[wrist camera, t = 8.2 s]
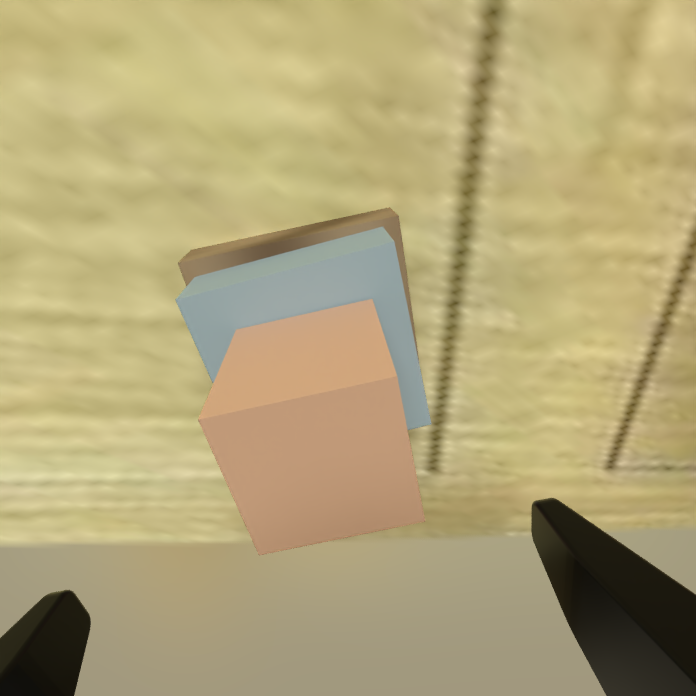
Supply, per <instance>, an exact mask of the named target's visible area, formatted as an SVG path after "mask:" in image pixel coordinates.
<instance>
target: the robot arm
mask: <svg viewBox="0 0 696 696" xmlns="http://www.w3.org/2000/svg"><path fill="white" fill-rule="evenodd" d="M532 537H533V541H534V543H535V546H536V548H537V551H538V553H539V556H540V558H541V560H542V563H543V565H544V567H545V570H546V572H547V575H548V577H549V579H550V582H551V584H552V587H553V589H554V591H555V593H556V596H557V598H558V600H559V603H560V606H561V608H562V610H563V612H564V615H565V617H566V620H567V622H568V624H569V626H570V628H571V630H572V632H573V634H574V636H575V638H576V640H577V642H578V644H579V646H580V647H581V649H582V651H583V653H584V655H585V657H586V659H587V660H588V662H589V664H590V666H591V668H592V670H593V671H594V673H595V675H596V677H597V679H598V681H599V683H600V684H601V686H602V688H603V690H604V692H605V693H606V695H607V696H696V594H694V593H693V592H691V591H690V590H688V589H687V588H685V587H684V586H683V585H681V584H679V583H678V582H677V581H675V580H674V579H672V578H671V577H669V576H668V575H667V574H665V573H664V572H662V571H661V570H659V569H658V568H656V567H655V566H653V565H652V564H650V563H649V562H648V561H646V560H645V559H643V558H642V557H640V556H639V555H637V554H636V553H634V552H633V551H632V550H630V549H628V548H627V547H626V546H624V545H623V544H621V543H620V542H618V541H617V540H616V539H614V538H613V537H611V536H610V535H608V534H607V533H605V532H604V531H602V530H601V529H600V528H598V527H597V526H595V525H594V524H592V523H591V522H589V521H588V520H586V519H585V518H584V517H582V516H581V515H579V514H578V513H576V512H575V511H573V510H572V509H570V508H569V507H568V506H566V505H565V504H563V503H562V502H560V501H559V500H557V499H554V498H548V499H543V500H537V501H534V502H533V504H532ZM90 625H91V621H90V616H89V613H88V612H87V610H86V609H85V607H84V606H83V605H82V603H81V602H80V600H79V599H78V598H77V596H76V595H75V593H73V591H70V590H64V591H58V592H53V593H50V594H48V595H46V596H44V597H43V598H42V599H41V600H40V601H39V602H38V603H37V604H36V605H35V606H33V607H32V608H31V609H30V610H29V611H28V612H27V613H26V614H25V615H24V616H23V617H22V618H21V619H20V620H19V621H18V622H17V623H16V624H15V625H13V627H11V628H10V629H9V630H8V631H7V632H6V633H5V634H4V635H3V636H2V637H1V638H0V696H74V694H75V689H76V686H77V682H78V677H79V673H80V669H81V665H82V660H83V656H84V652H85V648H86V644H87V640H88V635H89V631H90Z"/></svg>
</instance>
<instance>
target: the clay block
mask: <svg viewBox="0 0 696 696" xmlns="http://www.w3.org/2000/svg"><path fill="white" fill-rule="evenodd" d="M198 421H199V423H200V425H201V427H202V429H203V432H204V434H205V436H206V438H207V441H208V443H209V445H210V447H211V449H212V452H213V454H214V456H215V458H216V461H217V463H218V465H219V467H220V469H221V472H222V474H223V476H224V478H225V481H226V483H227V485H228V487H229V489H230V492H231V494H232V496H233V498H234V501H235V503H236V505H237V507H238V509H239V512H240V514H241V516H242V518H243V521H244V523H245V525H246V527H247V529H248V532H249V534H250V536H251V538H252V541H253V543H254V545H255V547H256V549H257V551H258V554H259V555H263V554H267V553H272V552H277V551H282V550H287V549H292V548H297V547H302V546H307V545H312V544H317V543H322V542H326V541H331V540H336V539H341V538H346V537H351V536H356V535H361V534H366V533H371V532H376V531H381V530H386V529H390V528H395V527H400V526H405V525H410V524H415V523H420V522H425V517H424V512H423V507H422V502H421V497H420V492H419V486H418V481H417V476H416V471H415V466H414V460H413V455H412V450H411V445H410V440H409V434H408V429H407V424H406V419H405V414H404V409H403V403H402V398H401V393H400V388H399V383H398V377H397V374H396V371H395V368H394V365H393V361H392V358H391V355H390V352H389V349H388V346H387V343H386V340H385V336H384V333H383V330H382V327H381V324H380V321H379V318H378V315H377V312H376V308H375V305H374V302H373V299H369V300H364V301H360V302H356V303H351V304H347V305H342V306H338V307H333V308H329V309H325V310H320V311H316V312H311V313H307V314H302V315H298V316H293V317H289V318H285V319H280V320H276V321H271V322H267V323H262V324H258V325H254V326H249V327H245V328H240V329H236V331H235V333H234V336H233V338H232V340H231V343H230V345H229V348H228V350H227V352H226V355H225V357H224V359H223V362H222V364H221V367H220V369H219V371H218V374H217V376H216V378H215V381H214V383H213V385H212V388H211V390H210V393H209V395H208V397H207V400H206V402H205V404H204V407H203V409H202V412H201V414H200V416H199V419H198Z"/></svg>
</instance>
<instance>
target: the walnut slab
mask: <svg viewBox="0 0 696 696" xmlns="http://www.w3.org/2000/svg"><path fill="white" fill-rule="evenodd" d="M379 227H384V229H385V230H386V231H387V233H388V234H389V235H390V236H391V238H392V239H393V240H394V242H395V247H396V252H397V257H398V262H399V267H400V272H401V277H402V282H403V287H404V292H405V297H406V301H407V306H408V311H409V316H410V321H411V326H412V331H413V336H414V341H415V346H416V351H417V344H416V337H415V330H414V323H413V315H412V308H411V301H410V294H409V287H408V280H407V272H406V265H405V258H404V251H403V244H402V237H401V230H400V222H399V216H398V215H397V214H396V213H395V212H394V211H393V210H392V209H391V208H385V209H381V210H376V211H371V212H367V213H362V214H357V215H352V216H348V217H343V218H338V219H334V220H329V221H324V222H320V223H315V224H310V225H306V226H301V227H296V228H292V229H287V230H282V231H278V232H273V233H268V234H264V235H259V236H254V237H250V238H245V239H240V240H236V241H231V242H226V243H222V244H217V245H212V246H208V247H203V248H198V249H194V250H191V251H190V252H189V253H188V254H187V255H186V256H184V257H183V258H182V259H181V260H180V261H179V262H178V265H179V267H180V270H181V273H182V275H183V278H184V281H185V283H186V286H188V284H189V283H190V282H191V281H192V280H193V279H194V277H197V276H200V275H204V274H208V273H212V272H215V271H219V270H223V269H226V268H230V267H234V266H238V265H241V264H245V263H249V262H252V261H256V260H260V259H264V258H267V257H271V256H275V255H279V254H282V253H286V252H290V251H293V250H297V249H301V248H305V247H308V246H312V245H316V244H319V243H323V242H327V241H331V240H334V239H338V238H342V237H346V236H349V235H353V234H357V233H360V232H364V231H368V230H372V229H375V228H379ZM417 356H418V351H417ZM418 361H419V358H418Z"/></svg>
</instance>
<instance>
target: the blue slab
mask: <svg viewBox="0 0 696 696" xmlns="http://www.w3.org/2000/svg"><path fill="white" fill-rule="evenodd" d="M369 299H373V302H374V305H375V308H376V312H377V315H378V318H379V321H380V324H381V327H382V330H383V333H384V336H385V340H386V343H387V346H388V349H389V352H390V355H391V358H392V361H393V365H394V368H395V371H396V374H397V377H398V383H399V388H400V393H401V398H402V403H403V409H404V414H405V419H406V424H407V429H408V430H410V429H414V428H418V427H422V426H426V425H430V424H431V420H430V415H429V410H428V405H427V400H426V395H425V390H424V385H423V381H422V376H421V371H420V366H419V361H418V356H417V351H416V346H415V341H414V336H413V331H412V326H411V321H410V316H409V311H408V306H407V301H406V297H405V292H404V287H403V282H402V277H401V272H400V267H399V262H398V257H397V252H396V247H395V242H394V240H393V239H392V238H391V236H390V235H389V234H388V233H387V231H386V230H385V229H384V227H379V228H375V229H372V230H368V231H364V232H360V233H357V234H353V235H349V236H346V237H342V238H338V239H334V240H331V241H327V242H323V243H319V244H316V245H312V246H308V247H305V248H301V249H297V250H293V251H290V252H286V253H282V254H279V255H275V256H271V257H267V258H264V259H260V260H256V261H252V262H249V263H245V264H241V265H238V266H234V267H230V268H226V269H223V270H219V271H215V272H212V273H208V274H204V275H200V276H197V277H194V279H193V280H192V281H191V282H190V283H189V284H188V286H187V287H186V288H185V289H184V290H183V291H182V293H181V294H180V295H179V296H178V297H177V298H176V302H177V304H178V307H179V309H180V311H181V313H182V315H183V318H184V320H185V322H186V324H187V327H188V329H189V331H190V333H191V335H192V338H193V340H194V342H195V344H196V347H197V349H198V351H199V353H200V356H201V358H202V360H203V362H204V364H205V367H206V369H207V371H208V373H209V376H210V378H211V380H212V382H213V383H214V381H215V378H216V376H217V374H218V371H219V369H220V367H221V364H222V362H223V359H224V357H225V355H226V352H227V350H228V348H229V345H230V343H231V340H232V338H233V336H234V333H235V331H236V329H240V328H245V327H249V326H254V325H258V324H262V323H267V322H271V321H276V320H280V319H285V318H289V317H293V316H298V315H302V314H307V313H311V312H316V311H320V310H325V309H329V308H333V307H338V306H342V305H347V304H351V303H356V302H360V301H364V300H369Z"/></svg>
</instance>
